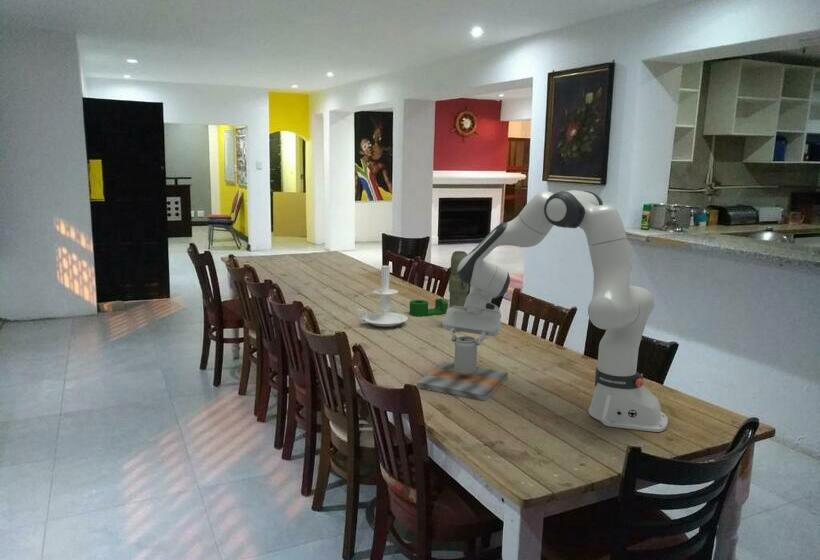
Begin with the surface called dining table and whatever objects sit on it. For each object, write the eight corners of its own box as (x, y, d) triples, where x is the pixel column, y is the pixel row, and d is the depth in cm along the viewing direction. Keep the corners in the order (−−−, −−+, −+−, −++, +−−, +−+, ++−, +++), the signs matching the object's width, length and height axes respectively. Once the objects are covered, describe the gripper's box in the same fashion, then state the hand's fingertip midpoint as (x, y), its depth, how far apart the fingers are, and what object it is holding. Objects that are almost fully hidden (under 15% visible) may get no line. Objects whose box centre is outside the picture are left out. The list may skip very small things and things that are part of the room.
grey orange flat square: (507, 377, 218) (507, 372, 217) (484, 401, 197) (484, 395, 196) (444, 366, 228) (444, 361, 228) (416, 387, 207) (416, 382, 206)
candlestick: (347, 322, 286) (346, 263, 281) (394, 316, 298) (395, 259, 292) (366, 334, 268) (366, 270, 263) (415, 327, 280) (416, 266, 275)
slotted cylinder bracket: (413, 317, 297) (414, 304, 296) (406, 313, 305) (406, 300, 304) (447, 314, 304) (447, 301, 303) (439, 310, 312) (440, 298, 311)
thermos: (458, 324, 286) (460, 249, 279) (472, 330, 276) (475, 253, 269) (442, 326, 282) (444, 250, 275) (456, 333, 271) (458, 254, 265)
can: (464, 366, 218) (465, 333, 215) (480, 372, 212) (481, 338, 210) (449, 371, 213) (450, 338, 210) (466, 377, 207) (467, 342, 205)
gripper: (446, 300, 219) (434, 333, 212) (502, 306, 210) (491, 342, 203) (451, 309, 224) (439, 342, 217) (505, 316, 215) (495, 351, 208)
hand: (465, 342), depth 210 cm, fingers closed on can, 7 cm apart
